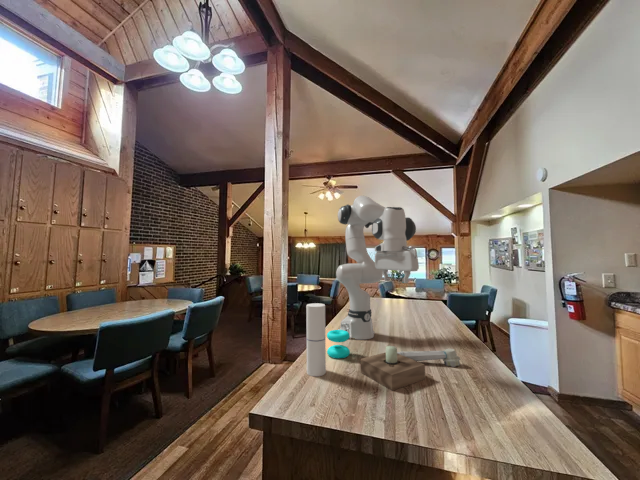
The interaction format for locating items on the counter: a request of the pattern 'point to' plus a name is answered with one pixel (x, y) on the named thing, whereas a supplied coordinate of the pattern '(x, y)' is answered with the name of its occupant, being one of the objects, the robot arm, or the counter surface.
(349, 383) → the counter surface
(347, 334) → the donuts
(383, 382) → the socket block
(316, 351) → the cylindrical container
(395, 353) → the peg
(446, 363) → the white handheld wand
